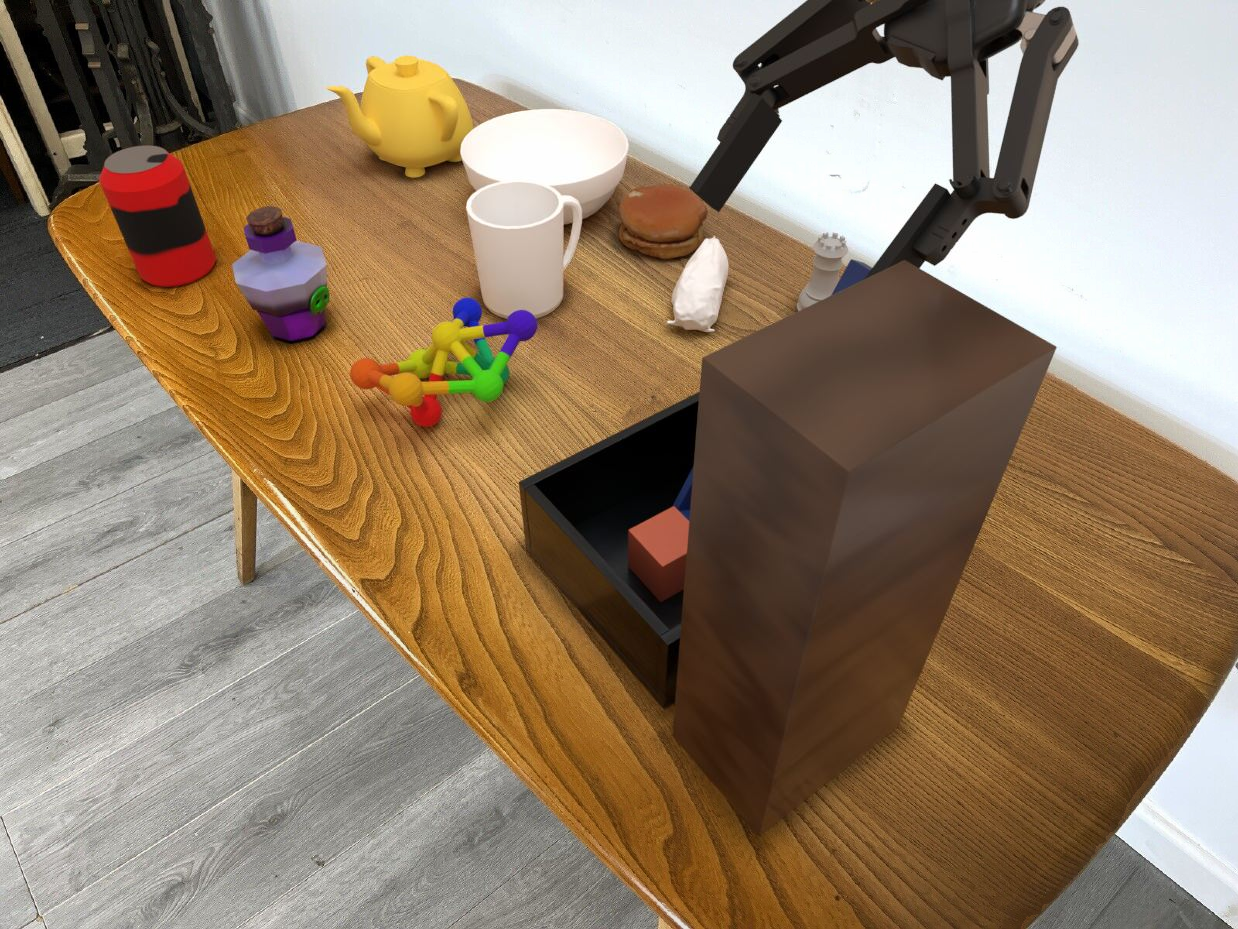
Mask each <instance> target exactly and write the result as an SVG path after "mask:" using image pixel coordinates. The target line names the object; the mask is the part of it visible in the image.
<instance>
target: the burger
mask: <svg viewBox="0 0 1238 929" xmlns="http://www.w3.org/2000/svg"><path fill="white" fill-rule="evenodd" d="M618 208H619V209H618V214H619V218H620V221H621V222H622V224H621V225H620V227H619V230H618V237H619V240H620V242H621V243H622V245H624V246H626V247H627V248H628V249H630V250H637V251H638V252H639V253H641V254H643V255H645V256H650V257H654V258H658V259H661V260H662V259H663V260H664V259H665V260H666V259H676V258H679V257H685V256H688V255H689V254H692V253H694V251H697V249H698V248H699V247H700V245H701V244H702V243H703V241H704V227H703V224H704V222H705V221H706V219H707V218H708V208H707V206H706V203H705V202H704V201H703V200H702V199H701V198H700V197H699V196H697V195H696V194H695V193H694V192H693V191H692V190H690V189H687V188H684V187H682V186H679V185H675V184H659V185H654V186H653V185H652V186H641V187H635V188H633V189H631V190H630V191H629V192H627V194H626V195H625V196H624V197H623V198H622V200H621V201H620V204H619V206H618Z"/></svg>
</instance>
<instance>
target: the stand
mask: <svg viewBox="0 0 1238 929" xmlns="http://www.w3.org/2000/svg"><path fill="white" fill-rule="evenodd" d="M1057 348H1058V347H1057V346H1056V345H1054V344H1053V343H1051V342H1050V341H1048V340H1046V339H1044V338H1042V337H1041V336H1039V335H1037V334H1035V333H1034V332H1032V331H1030V330H1028V329H1027V328H1025V327H1024V326H1021V325H1020V324H1018V323H1016V322H1014V321H1013V320H1011V319H1009V318H1007V317H1006V316H1004V315H1002V314H1001V313H998V312H997V311H995V310H993V309H992V308H990V307H988V306H987V305H985V304H983V303H981V302H979V301H977V300H975V299H974V298H972V297H970V296H969V295H967V294H965V293H963V292H962V291H960V290H958V289H956V288H955V287H953V286H951V285H950V284H948V283H946V282H944V281H942V280H941V279H939V278H937V277H935V276H933V275H931V274H930V273H929V272H926V271H925V270H923V269H922V268H921V267H920V268H918V267H916V266H914V265H912V264H911V263H909V262H907V261H905V260H904V261H902V262H900V263H898V264H896V265H894V266H892V267H890V268H888V269H885V270H883V271H881V272H879V273H877V274H875V275H873V276H871V277H869V278H867V279H865V280H863V281H861V282H858V283H856V284H854V285H852V286H850V287H848V288H846V289H844V290H842V291H840V292H838V293H836V294H833V295H831V296H829V297H827V298H825V299H823V300H821V301H819V302H817V303H815V304H813V305H811V306H808V307H806V308H804V309H802V310H800V311H798V310H797V311H796V312H794V313H792V314H790V315H788V316H785V317H783V318H781V319H779V320H777V321H776V322H773V323H771V324H769V325H767V326H765V327H763V328H761V329H759V330H757V331H755V332H752V333H750V334H748V335H746V336H744V337H742V338H740V339H737V340H735V341H733V342H732V343H730V344H727V345H725V346H722V347H721V348H719V349H717V350H715V351H713V352H710V353H709V354H706V355H704V356H702V357H701V365H700V366H701V369H700V379H699V391H698V392H699V404H698V417H697V430H696V443H695V455H694V468H693V481H692V494H691V506H690V519H689V532H688V545H687V557H686V570H685V583H684V596H683V608H682V621H681V634H680V646H679V659H678V672H677V685H676V697H675V703H674V712H673V724H672V737H673V738H674V740H675V741H676V742H677V743H678V744H679V745H680V747H682V749H683V750H684V751H685V752H686V754H688V756H689V757H690V758H691V760H693V762H694V763H695V765H697V766H698V768H699V769H701V771H702V772H703V774H704V775H705V776H706V777H707V778H708V780H710V782H711V783H712V784H713V785H714V786H715V788H716V789H717V790H718V791H719V793H720V794H721V795H722V796H723V798H725V799H726V800H727V802H728V803H729V804H730V805H731V806H732V808H733V809H734V810H735V811H736V813H738V815H739V816H740V817H741V818H742V819H743V821H744V822H745V823H746V824H747V825H748V827H749V828H750V829H751V830H752V831H753V832H754V833H755V835H756V836H757V837H761V836H762V835H764V834H765V833H766V832H767V831H769V830H770V829H771V828H772V827H774V826H775V825H776V824H778V823H779V822H780V821H781V820H782V819H783V818H785V817H786V816H788V815H789V814H790V813H791V812H793V810H795V809H796V808H797V807H799V806H800V805H801V804H803V803H804V802H805V801H806V800H808V799H809V798H810V797H811V796H812V795H814V794H815V793H816V792H818V791H819V790H820V789H821V788H823V787H824V786H825V785H827V784H828V783H829V782H831V780H833V779H834V778H835V777H837V776H838V775H839V774H841V773H842V772H843V771H844V770H846V769H847V768H848V767H849V766H851V765H852V764H853V763H855V761H857V760H858V759H860V757H862V756H863V755H864V754H866V753H867V752H869V751H870V750H871V749H872V748H873V747H874V746H875V745H877V744H879V743H880V742H881V741H883V739H885V738H886V737H887V736H889V735H890V734H891V733H892V732H894V731H895V730H896V729H897V728H899V727H900V725H901V722H902V719H903V717H904V715H905V712H906V710H907V708H908V705H909V703H910V701H911V698H912V696H913V694H914V692H915V688H916V686H917V683H918V681H919V678H920V677H921V674H922V672H923V669H924V667H925V665H926V662H927V660H928V658H929V655H930V652H931V650H932V648H933V646H934V643H935V640H936V638H937V635H938V633H939V631H940V628H941V627H942V623H943V621H944V619H945V616H946V615H947V611H948V609H949V607H950V605H951V602H952V600H953V597H954V595H955V593H956V590H957V588H958V585H959V583H960V580H961V578H962V576H963V574H964V571H965V568H966V566H967V564H968V561H969V559H970V558H971V554H972V552H973V550H974V547H975V545H976V542H977V540H978V538H979V535H980V533H981V530H982V528H983V525H984V523H985V520H986V518H987V516H988V514H989V511H990V509H991V506H992V503H993V501H994V499H995V497H996V494H997V492H998V489H999V487H1000V484H1001V482H1002V480H1003V478H1004V475H1005V472H1006V470H1007V468H1008V465H1009V463H1010V461H1011V458H1012V456H1013V454H1014V451H1015V448H1016V446H1017V445H1018V441H1019V439H1020V436H1021V434H1022V432H1023V429H1024V427H1025V425H1026V422H1027V419H1028V417H1029V415H1030V412H1031V410H1032V408H1033V405H1034V403H1035V401H1036V398H1037V396H1038V393H1039V391H1040V389H1041V386H1042V384H1043V381H1044V379H1045V377H1046V374H1047V372H1048V369H1049V368H1050V364H1051V361H1052V359H1053V357H1054V355H1055V353H1056V350H1057Z"/></svg>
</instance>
